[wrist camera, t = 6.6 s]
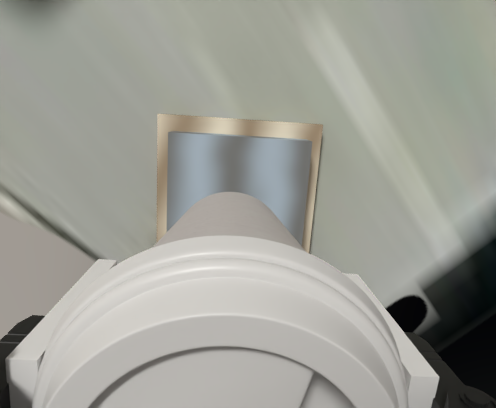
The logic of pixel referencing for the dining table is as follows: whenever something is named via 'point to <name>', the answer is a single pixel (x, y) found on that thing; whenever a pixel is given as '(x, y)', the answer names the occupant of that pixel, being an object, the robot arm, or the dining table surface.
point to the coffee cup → (222, 325)
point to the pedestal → (238, 167)
